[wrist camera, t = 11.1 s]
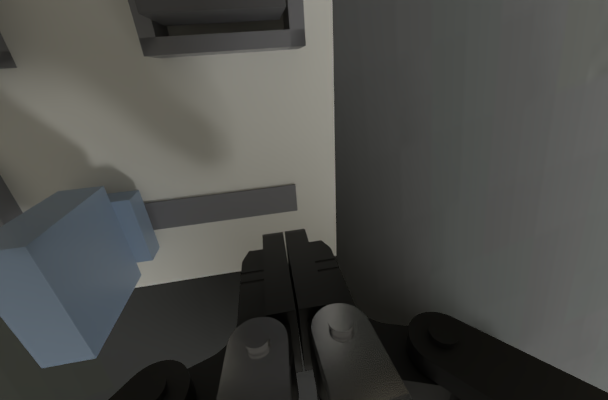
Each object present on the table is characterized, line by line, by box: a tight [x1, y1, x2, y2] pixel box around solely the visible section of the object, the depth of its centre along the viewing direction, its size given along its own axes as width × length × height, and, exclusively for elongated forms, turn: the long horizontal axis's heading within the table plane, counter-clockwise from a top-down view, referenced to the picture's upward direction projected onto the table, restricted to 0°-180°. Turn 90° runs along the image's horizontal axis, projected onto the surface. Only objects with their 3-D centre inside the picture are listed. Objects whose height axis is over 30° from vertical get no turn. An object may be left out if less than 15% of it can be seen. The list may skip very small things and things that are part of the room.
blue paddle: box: [0, 186, 160, 368], centre depth 10 cm, size 3×4×5 cm
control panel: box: [0, 0, 337, 288], centre depth 11 cm, size 20×18×4 cm
